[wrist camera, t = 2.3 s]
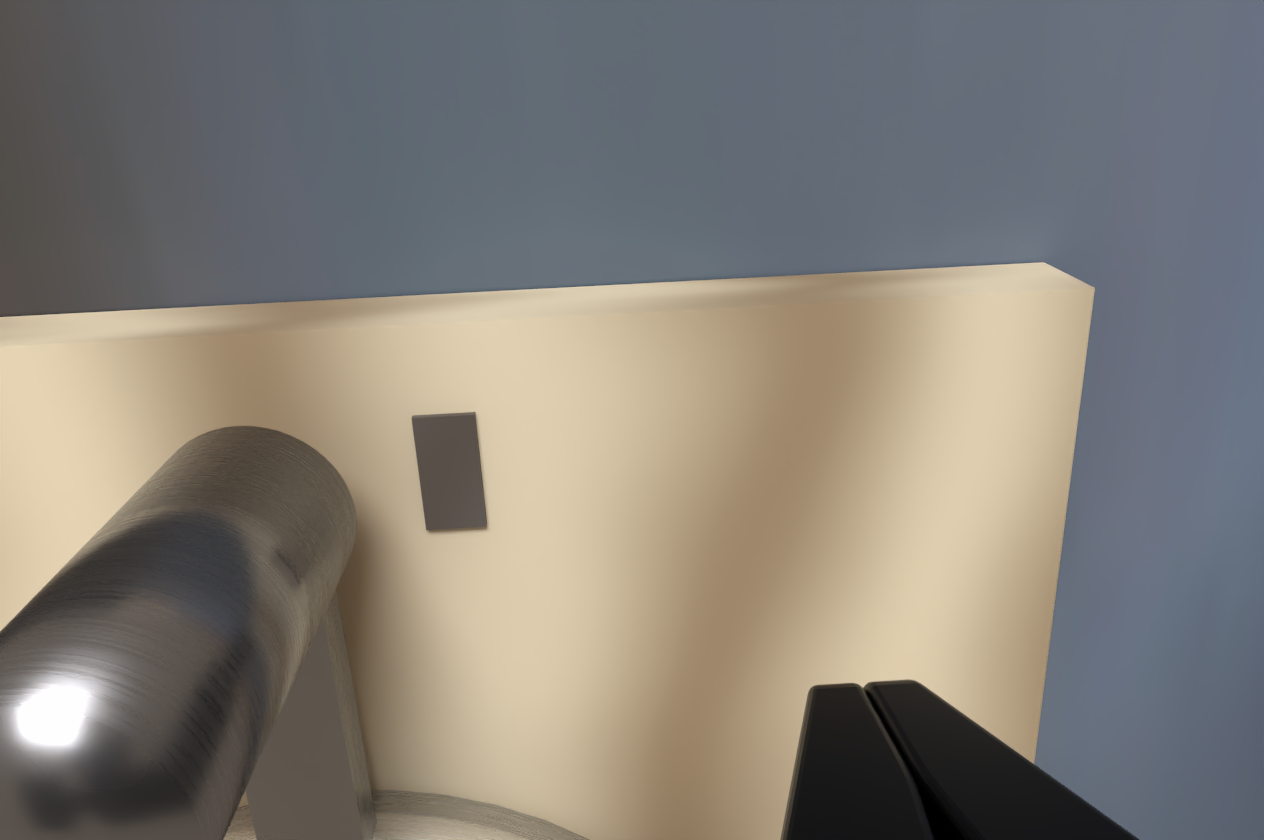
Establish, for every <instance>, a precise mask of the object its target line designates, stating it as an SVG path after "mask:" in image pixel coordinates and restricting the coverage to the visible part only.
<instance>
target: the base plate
mask: <svg viewBox="0 0 1264 840" xmlns="http://www.w3.org/2000/svg"><path fill="white" fill-rule="evenodd" d="M1094 290H1095V288H1094V287H1092V286H1090V285H1088V284H1086V283H1084V282H1082V281H1080V280H1078V279H1076V278H1074V277H1072V276H1070V275H1068V274H1066V273H1064V272H1062V271H1060V270H1058V269H1056V268H1054V267H1052V266H1050V265H1048V264H1046V263H1044V262H1041V263H1022V264H1003V265H984V266H965V267H946V268H927V269H908V270H889V271H870V272H851V273H832V274H813V275H794V276H775V277H756V278H737V279H718V280H699V281H680V282H661V283H642V284H623V285H604V286H585V287H566V288H547V289H528V290H509V291H490V292H471V293H452V294H433V295H414V296H395V297H376V298H357V299H338V300H319V301H300V302H280V303H261V304H242V305H223V306H204V307H185V308H166V309H147V310H128V311H109V312H90V313H71V314H52V315H33V316H14V317H0V631H1V630H2V629H3V628H4V627H5V626H6V625H7V624H8V623H9V622H10V621H11V620H12V619H13V618H14V617H15V616H16V615H17V614H18V613H19V612H20V611H21V610H22V609H23V608H24V607H25V606H26V605H27V604H28V603H29V602H30V600H31V599H32V598H33V597H34V596H35V595H36V594H37V593H38V592H39V591H40V590H41V589H42V588H43V587H44V586H45V585H46V584H47V583H48V582H49V581H50V580H51V579H52V578H53V577H54V576H55V575H56V574H57V573H58V572H59V571H60V570H61V569H62V568H63V567H64V566H65V565H66V564H67V563H68V562H69V561H70V559H71V558H72V557H73V556H74V555H75V554H76V553H77V552H78V551H79V550H80V549H81V548H82V547H83V546H84V545H85V544H86V543H87V542H88V541H89V540H90V539H91V538H92V537H93V536H94V535H95V534H96V533H97V532H98V531H99V530H100V529H101V528H102V527H103V526H104V525H105V524H106V523H107V522H108V521H109V520H110V518H111V517H112V516H113V515H114V514H115V513H116V512H117V511H118V510H119V509H120V508H121V507H122V506H123V505H124V504H125V503H126V502H127V501H128V500H129V499H130V498H131V497H132V496H133V495H134V494H135V493H136V492H137V491H138V490H139V489H140V488H141V487H142V486H143V485H144V484H145V483H146V482H147V481H148V480H149V479H150V477H151V476H152V475H153V474H154V473H155V472H156V471H157V470H158V469H159V468H160V467H161V466H162V465H163V464H164V463H165V462H166V461H167V460H168V459H169V458H170V457H171V456H172V455H173V454H174V453H175V452H176V451H177V450H178V449H179V448H180V447H182V446H183V445H184V444H185V443H187V442H188V441H190V440H192V439H193V438H195V437H197V436H199V435H201V434H204V433H206V432H209V431H211V430H215V429H219V428H223V427H232V426H256V427H264V428H269V429H273V430H277V431H280V432H283V433H286V434H288V435H291V436H293V437H295V438H297V439H299V440H301V441H303V442H305V443H306V444H308V445H310V446H311V447H313V448H314V449H316V450H317V451H318V452H319V453H320V454H322V455H323V456H324V457H325V458H326V459H327V460H328V461H329V462H330V463H331V464H332V465H333V466H334V467H335V468H336V470H337V471H338V472H339V474H340V475H341V477H342V478H343V480H344V481H345V483H346V485H347V487H348V489H349V491H350V493H351V496H352V499H353V501H354V506H355V510H356V516H357V535H356V540H355V545H354V548H353V551H352V553H351V556H350V558H349V561H348V563H347V565H346V567H345V570H344V572H343V574H342V576H341V578H340V581H339V583H338V585H337V587H336V588H337V594H338V600H339V606H340V611H341V617H342V623H343V629H344V634H345V640H346V646H347V652H348V657H349V663H350V669H351V675H352V681H353V686H354V692H355V698H356V704H357V709H358V715H359V721H360V727H361V733H362V738H363V744H364V750H365V756H366V761H367V767H368V773H369V779H370V785H371V790H399V791H410V792H421V793H432V794H443V795H449V796H454V797H459V798H464V799H469V800H474V801H479V802H484V803H490V804H495V805H498V806H502V807H505V808H508V809H511V810H514V811H518V812H521V813H524V814H527V815H531V816H534V817H537V818H540V819H543V820H546V821H548V822H551V823H553V824H555V825H558V826H560V827H562V828H564V829H567V830H569V831H571V832H574V833H576V834H578V835H580V836H583V837H585V838H587V839H590V840H780V838H781V833H782V828H783V822H784V817H785V812H786V806H787V801H788V796H789V791H790V785H791V780H792V775H793V769H794V764H795V759H796V753H797V748H798V743H799V738H800V732H801V727H802V722H803V716H804V711H805V706H806V701H807V695H808V691H809V690H810V688H811V687H813V686H814V685H822V684H840V683H856V684H859V685H860V686H862V687H864V686H865V685H866V684H867V683H868V682H874V681H890V680H906V679H910V680H915V681H917V682H919V683H921V684H923V685H924V686H925V687H927V688H928V689H930V690H931V691H932V692H934V693H935V694H937V695H938V696H939V697H941V698H942V699H944V700H945V701H946V702H948V703H949V704H951V705H952V706H953V707H955V708H956V709H958V710H959V711H960V712H962V713H963V714H965V715H966V716H967V717H969V718H970V719H972V720H973V721H974V722H976V723H977V724H979V725H980V726H981V727H983V728H984V729H986V730H987V731H988V732H990V733H991V734H993V735H994V736H995V737H997V738H998V739H1000V740H1001V741H1002V742H1004V743H1005V744H1007V745H1008V746H1009V747H1011V748H1012V749H1014V750H1015V751H1016V752H1018V753H1019V754H1020V755H1022V756H1023V757H1025V758H1026V759H1027V760H1029V761H1030V762H1032V763H1033V764H1034V760H1035V753H1036V745H1037V737H1038V729H1039V721H1040V713H1041V706H1042V698H1043V690H1044V682H1045V674H1046V666H1047V659H1048V651H1049V643H1050V635H1051V627H1052V619H1053V612H1054V604H1055V596H1056V588H1057V580H1058V572H1059V565H1060V557H1061V549H1062V541H1063V533H1064V525H1065V518H1066V510H1067V502H1068V494H1069V486H1070V478H1071V471H1072V463H1073V455H1074V447H1075V439H1076V431H1077V424H1078V416H1079V408H1080V400H1081V392H1082V384H1083V377H1084V369H1085V361H1086V353H1087V345H1088V337H1089V330H1090V322H1091V314H1092V306H1093V298H1094ZM246 805H249V804H248V800H247V796H246V791H245V792H244V795H243V797H242V799H241V801H240V804H239V806H238V807H242V806H246Z"/></svg>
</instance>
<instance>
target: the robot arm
mask: <svg viewBox="0 0 1264 840" xmlns="http://www.w3.org/2000/svg"><path fill="white" fill-rule="evenodd" d="M780 840H1139V839H1138V838H1137V837H1135V836H1134V835H1132V834H1131V833H1130V832H1128V831H1127V830H1125V829H1124V828H1123V827H1121V826H1120V825H1118V824H1117V823H1116V822H1114V821H1113V820H1111V819H1110V818H1109V817H1107V816H1106V815H1104V814H1103V813H1102V812H1100V811H1099V810H1097V809H1096V808H1095V807H1093V806H1092V805H1090V804H1089V803H1088V802H1086V801H1085V800H1083V799H1082V798H1081V797H1079V796H1078V795H1076V794H1075V793H1074V792H1072V791H1071V790H1069V789H1068V788H1067V787H1065V786H1064V785H1062V784H1061V783H1060V782H1058V781H1057V780H1055V779H1054V778H1053V777H1051V776H1050V775H1048V774H1047V773H1046V772H1044V771H1043V770H1041V769H1040V768H1039V767H1037V766H1036V765H1034V764H1033V763H1032V762H1030V761H1029V760H1027V759H1026V758H1025V757H1023V756H1022V755H1020V754H1019V753H1018V752H1016V751H1015V750H1014V749H1012V748H1011V747H1009V746H1008V745H1007V744H1005V743H1004V742H1002V741H1001V740H1000V739H998V738H997V737H995V736H994V735H993V734H991V733H990V732H988V731H987V730H986V729H984V728H983V727H981V726H980V725H979V724H977V723H976V722H974V721H973V720H972V719H970V718H969V717H967V716H966V715H965V714H963V713H962V712H960V711H959V710H958V709H956V708H955V707H953V706H952V705H951V704H949V703H948V702H946V701H945V700H944V699H942V698H941V697H939V696H938V695H937V694H935V693H934V692H932V691H931V690H930V689H928V688H927V687H925V686H924V685H923V684H921V683H919V682H917V681H915V680H910V679H906V680H890V681H874V682H868V683H867V684H866V685H865V686H864V687H862V686H860V685H859V684H856V683H840V684H822V685H814V686H813V687H811V688H810V690H809V691H808V695H807V701H806V706H805V711H804V716H803V722H802V727H801V732H800V738H799V743H798V748H797V753H796V759H795V764H794V769H793V775H792V780H791V785H790V791H789V796H788V801H787V806H786V812H785V817H784V822H783V828H782V833H781V838H780Z"/></svg>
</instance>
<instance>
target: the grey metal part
mask: <svg viewBox="0 0 1264 840" xmlns="http://www.w3.org/2000/svg"><path fill="white" fill-rule="evenodd" d="M356 535H357V516H356V510H355V506H354V501H353V499H352V496H351V493H350V491H349V489H348V487H347V485H346V483H345V481H344V480H343V478H342V477H341V475H340V474H339V472H338V471H337V470H336V468H335V467H334V466H333V465H332V464H331V463H330V462H329V461H328V460H327V459H326V458H325V457H324V456H323V455H322V454H320V453H319V452H318V451H317V450H316V449H314V448H313V447H311V446H310V445H308V444H306V443H305V442H303V441H301V440H299V439H297V438H295V437H293V436H291V435H288V434H286V433H283V432H280V431H277V430H273V429H269V428H264V427H256V426H232V427H223V428H219V429H215V430H211V431H209V432H206V433H204V434H201V435H199V436H197V437H195V438H193V439H192V440H190V441H188V442H187V443H185V444H184V445H183V446H182V447H180V448H179V449H178V450H177V451H176V452H175V453H174V454H173V455H172V456H171V457H170V458H169V459H168V460H167V461H166V462H165V463H164V464H163V465H162V466H161V467H160V468H159V469H158V470H157V471H156V472H155V473H154V474H153V475H152V476H151V477H150V479H149V480H148V481H147V482H146V483H145V484H144V485H143V486H142V487H141V488H140V489H139V490H138V491H137V492H136V493H135V494H134V495H133V496H132V497H131V498H130V499H129V500H128V501H127V502H126V503H125V504H124V505H123V506H122V507H121V508H120V509H119V510H118V511H117V512H116V513H115V514H114V515H113V516H112V517H111V518H110V520H109V521H108V522H107V523H106V524H105V525H104V526H103V527H102V528H101V529H100V530H99V531H98V532H97V533H96V534H95V535H94V536H93V537H92V538H91V539H90V540H89V541H88V542H87V543H86V544H85V545H84V546H83V547H82V548H81V549H80V550H79V551H78V552H77V553H76V554H75V555H74V556H73V557H72V558H71V559H70V561H69V562H68V563H67V564H66V565H65V566H64V567H63V568H62V569H61V570H60V571H59V572H58V573H57V574H56V575H55V576H54V577H53V578H52V579H51V580H50V581H49V582H48V583H47V584H46V585H45V586H44V587H43V588H42V589H41V590H40V591H39V592H38V593H37V594H36V595H35V596H34V597H33V598H32V599H31V600H30V602H29V603H28V604H27V605H26V606H25V607H24V608H23V609H22V610H21V611H20V612H19V613H18V614H17V615H16V616H15V617H14V618H13V619H12V620H11V621H10V622H9V623H8V624H7V625H6V626H5V627H4V628H3V629H2V630H1V631H0V840H590V839H587V838H585V837H583V836H580V835H578V834H576V833H574V832H571V831H569V830H567V829H564V828H562V827H560V826H558V825H555V824H553V823H551V822H548V821H546V820H543V819H540V818H537V817H534V816H531V815H527V814H524V813H521V812H518V811H514V810H511V809H508V808H505V807H502V806H498V805H495V804H490V803H484V802H479V801H474V800H469V799H464V798H459V797H454V796H449V795H443V794H432V793H421V792H410V791H399V790H371V785H370V779H369V773H368V767H367V761H366V756H365V750H364V744H363V738H362V733H361V727H360V721H359V715H358V709H357V704H356V698H355V692H354V686H353V681H352V675H351V669H350V663H349V657H348V652H347V646H346V640H345V634H344V629H343V623H342V617H341V611H340V606H339V600H338V594H337V588H336V587H337V585H338V583H339V581H340V578H341V576H342V574H343V572H344V570H345V567H346V565H347V563H348V561H349V558H350V556H351V553H352V551H353V548H354V545H355V540H356ZM245 791H246V796H247V800H248V804H249V805H246V806H242V807H238V806H239V804H240V801H241V799H242V797H243V795H244V792H245Z"/></svg>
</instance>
